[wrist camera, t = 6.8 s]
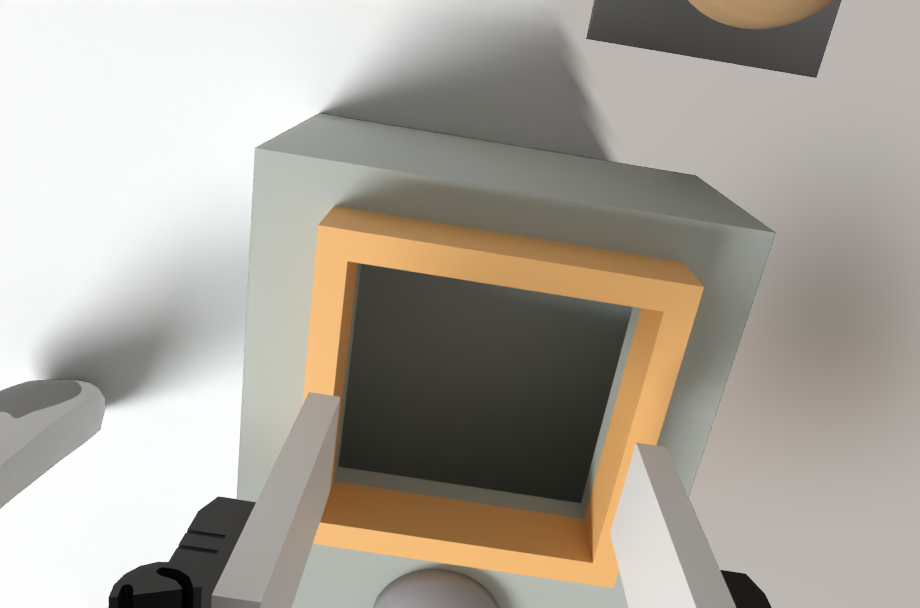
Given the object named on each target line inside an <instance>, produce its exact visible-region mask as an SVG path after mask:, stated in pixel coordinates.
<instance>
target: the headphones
mask: <svg viewBox="0 0 920 608" xmlns="http://www.w3.org/2000/svg"><path fill="white" fill-rule="evenodd" d="M104 412H105V397H104V396H103V394H102V393H101V391H100V390H99V388H98V387H96V386H95V385H93V384H91V383H90V382H85V381H78V380H53V379H51V380H36V381H28V382H24V383H21V384H18V385H15V386H12V387H10V388H7V389H4V390H2V391H0V508H2V507H3V506H4V505H5V504H6V503H7V502H9V501H10V500H11V499H12V498H13V497H15V496H16V495H17V494H18V493H20V492H21V491H22V490H24V489H25V488H26V487H27V486H29V485H30V484H31V483H32V482H34V481H35V480H36V479H37V478H39V477H40V476H41V475H42V474H44V473H45V472H46V471H48V470H49V469H50V468H51V467H53V466H54V465H55V464H56V463H58V462H59V461H60V460H62V459H63V458H64V457H66V456H67V455H68V454H70V453H71V452H73V451H74V450H75V449H77V448H78V447H79V446H81V445H82V444H84V443H85V442H86V441H87V440H88V439H90V438H91V437H92V436H93V435H94V434H96V433H97V432H98V431H99V430H100V429H101V424H102V420H103V416H104Z"/></svg>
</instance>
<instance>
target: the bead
mask: <svg viewBox="0 0 920 608" xmlns="http://www.w3.org/2000/svg"><path fill="white" fill-rule="evenodd" d="M688 1H689V2H690V3H691V4H692V5H693V6H694V7H695V8H696V9H698V10H699V11H700V12H701V13H703V14H704V15H706V16H708V17H709V18H711V19H713V20H715V21H718V22H720V23H723V24H726V25H730V26H734V27H738V28H745V29H768V28H774V27H780V26H785V25H788V24H792V23H795V22H798V21H800V20H803V19H805V18H807V17H809V16H811V15H813V14H815V13H817V12H819V11H820V10H822V9H824V8H825V7H827V6H828V5H830V4H831V3H833V2H834V1H835V0H688Z"/></svg>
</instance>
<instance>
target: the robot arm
mask: <svg viewBox="0 0 920 608" xmlns="http://www.w3.org/2000/svg"><path fill="white" fill-rule="evenodd" d="M339 406H340V397H337V396H331V395H325V394H318V393H312V392H309V393H308V395H307V397H306V399H305V401H304V404H303V406H302V408H301V410H300V412H299V414H298V416H297V418H296V420H295V422H294V424H293V426H292V429H291V431H290V433H289V435H288V437H287V439H286V441H285V443H284V445H283V447H282V449H281V452H280V454H279V456H278V458H277V460H276V462H275V464H274V466H273V468H272V470H271V472H270V475H269V477H268V479H267V481H266V483H265V485H264V487H263V489H262V491H261V493H260V495H259V497H258V500H257V502H251V501H245V500H238V499H231V498H225V497H217V498H216V499H214V500H213V501H212V502H210V503H209V504H208V505H206V506H205V507H204V508H202V509H201V510H200V511H198V513H197V515H196V517H195V518H194V520H193V522H192V523H191V525H190V527H189V528H188V531H187V533H185V535H184V537H183V539H182V540H181V542H180V544H179V547H178V548H177V549H176V550H175V552H174V554H173V556H172V557H171V559H170V561H169V562H156V563H151V564H147V565H143V566H140V567H138V568H136V569H134V570H132V571H130V572H128V573H126V574H125V575H124V576H123V577H122V578H121V579H120V580H119V581H118V582H117V583H116V584H115V585H114V586H113V589H112V591H111V593H110V596H109V608H292V605H293V602H294V599H295V596H296V593H297V590H298V587H299V584H300V581H301V578H302V575H303V572H304V569H305V566H306V563H307V560H308V557H309V554H310V550H311V547H312V544H313V541H314V538H315V535H316V532H317V529H318V526H319V523H320V520H321V517H322V514H323V511H324V508H325V505H326V502H327V499H328V496H329V493H330V488H331V479H332V470H333V461H334V451H335V442H336V433H337V424H338V415H339ZM610 535H611V539H612V543H613V547H614V551H615V556H616V560H617V564H618V568H619V572H620V576H621V580H622V584H623V588H624V592H625V596H626V600H627V604H628V608H771V606H770V604H769V602H768V599H767V598H766V596H765V594H764V593H763V592H762V590H761V589H760V588H759V587H758V586H757V585H756V584H755V583H754V582H753V581H752V580H751V579H750V578H749V577H748V576H747V575H746V574H743V573H736V572H730V571H723V570H720V569H719V567H718V564H717V562H716V560H715V557H714V555H713V553H712V550H711V548H710V546H709V544H708V541H707V539H706V537H705V535H704V532H703V530H702V527H701V525H700V523H699V521H698V518H697V516H696V513H695V511H694V509H693V507H692V504H691V502H690V500H689V497H688V495H687V493H686V490H685V488H684V486H683V483H682V481H681V479H680V477H679V474H678V472H677V470H676V467H675V465H674V463H673V460H672V458H671V456H670V453H669V451H668V449H667V447H662V446H655V445H649V444H642V443H636V445H635V448H634V452H633V455H632V459H631V462H630V466H629V469H628V473H627V476H626V479H625V483H624V486H623V490H622V493H621V497H620V500H619V504H618V507H617V511H616V514H615V518H614V521H613V525H612V528H611V532H610Z"/></svg>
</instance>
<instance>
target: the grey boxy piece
mask: <svg viewBox="0 0 920 608" xmlns="http://www.w3.org/2000/svg"><path fill="white" fill-rule="evenodd" d="M775 234H776V233H775V232H774V231H772V230H771V229H770V228H768V227H767V226H765V225H764V224H762V223H761V222H760V221H758V220H757V219H756V218H754V217H753V216H751V215H750V214H749V213H747V212H746V211H745V210H743V209H741V208H740V207H739V206H737V205H736V204H734V203H733V202H732V201H731V200H729V199H728V198H726V197H725V196H724V195H722V194H721V193H719V192H718V191H717V190H715V189H714V188H712V187H711V186H710V185H708V184H707V183H706V182H704V181H703V180H701V179H700V178H698V177H697V176H695V175H689V174H683V173H677V172H671V171H665V170H659V169H653V168H647V167H641V166H635V165H629V164H623V163H617V162H611V161H605V160H599V159H592V158H586V157H580V156H574V155H568V154H562V153H556V152H550V151H544V150H538V149H532V148H526V147H520V146H514V145H508V144H502V143H495V142H489V141H483V140H477V139H471V138H465V137H459V136H453V135H447V134H441V133H435V132H429V131H423V130H417V129H411V128H404V127H398V126H392V125H386V124H380V123H374V122H368V121H362V120H356V119H350V118H344V117H338V116H332V115H326V114H320V113H319V114H317V115H315V116H313V117H311V118H309V119H308V120H306V121H304V122H302V123H300V124H298V125H296V126H295V127H293V128H291V129H289V130H287V131H285V132H284V133H282V134H280V135H278V136H276V137H274V138H273V139H271V140H269V141H267V142H265V143H263V144H262V145H260V146H258V147H256V148H255V159H254V178H253V197H252V216H251V235H250V255H249V274H248V293H247V312H246V331H245V351H244V370H243V389H242V408H241V427H240V447H239V466H238V485H237V499H238V500H245V501H251V502H257V500H258V497H259V495H260V493H261V491H262V489H263V487H264V485H265V483H266V481H267V479H268V477H269V475H270V472H271V470H272V468H273V466H274V464H275V462H276V460H277V458H278V456H279V454H280V452H281V449H282V447H283V445H284V443H285V441H286V439H287V437H288V435H289V433H290V431H291V429H292V426H293V424H294V422H295V420H296V418H297V416H298V414H299V412H300V410H301V408H302V406H303V404H304V401H305V399H306V397H307V395H308V393H309V392H312V393H318V394H325V395H331V396H337V397H340V406H339V415H338V424H337V433H336V442H335V451H334V461H333V470H332V479H331V488H330V493H329V496H328V499H327V502H326V505H325V508H324V511H323V514H322V517H321V520H320V523H319V526H318V529H317V532H316V535H315V538H314V541H313V544H312V547H311V550H310V554H309V557H308V560H307V563H306V566H305V569H304V572H303V575H302V578H301V581H300V584H299V587H298V590H297V593H296V596H295V599H294V602H293V605H292V608H628V604H627V600H626V596H625V592H624V588H623V584H622V580H621V576H620V572H619V568H618V564H617V560H616V556H615V551H614V547H613V543H612V539H611V535H610V532H611V528H612V525H613V521H614V518H615V514H616V511H617V507H618V504H619V500H620V497H621V493H622V490H623V486H624V483H625V479H626V476H627V473H628V469H629V466H630V462H631V459H632V455H633V452H634V448H635V445H636V443H642V444H649V445H655V446H662V447H667V449H668V451H669V453H670V456H671V458H672V460H673V463H674V465H675V467H676V470H677V472H678V474H679V477H680V479H681V481H682V483H683V486H684V488H685V490H686V493H687V495H688V497H689V494H690V491H691V488H692V485H693V482H694V479H695V475H696V473H697V469H698V467H699V464H700V461H701V458H702V454H703V451H704V449H705V446H706V443H707V439H708V436H709V433H710V430H711V427H712V424H713V421H714V418H715V415H716V412H717V409H718V406H719V403H720V400H721V397H722V394H723V391H724V388H725V385H726V382H727V379H728V376H729V373H730V370H731V367H732V364H733V361H734V358H735V355H736V352H737V349H738V345H739V342H740V339H741V336H742V333H743V330H744V328H745V324H746V321H747V318H748V315H749V312H750V309H751V306H752V303H753V300H754V297H755V294H756V291H757V288H758V285H759V282H760V279H761V276H762V273H763V270H764V267H765V264H766V261H767V258H768V255H769V252H770V249H771V246H772V243H773V240H774V237H775Z"/></svg>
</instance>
